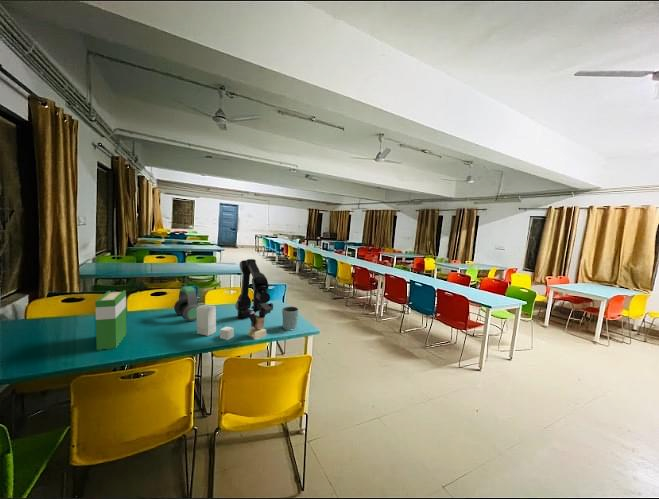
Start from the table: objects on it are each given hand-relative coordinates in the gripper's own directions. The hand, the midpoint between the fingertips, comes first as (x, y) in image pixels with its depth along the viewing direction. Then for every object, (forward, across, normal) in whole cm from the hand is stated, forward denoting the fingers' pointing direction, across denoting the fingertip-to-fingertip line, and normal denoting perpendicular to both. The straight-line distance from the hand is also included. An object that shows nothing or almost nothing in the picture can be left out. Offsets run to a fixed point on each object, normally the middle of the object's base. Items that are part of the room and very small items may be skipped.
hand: (257, 324), depth 153 cm
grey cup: (+7, +21, -6) cm, 23 cm away
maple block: (+7, 0, 0) cm, 7 cm away
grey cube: (+7, -12, +11) cm, 18 cm away
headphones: (+7, -10, +53) cm, 54 cm away
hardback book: (+7, -51, +49) cm, 71 cm away
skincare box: (+7, -16, +24) cm, 30 cm away
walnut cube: (+1, 0, 0) cm, 1 cm away
